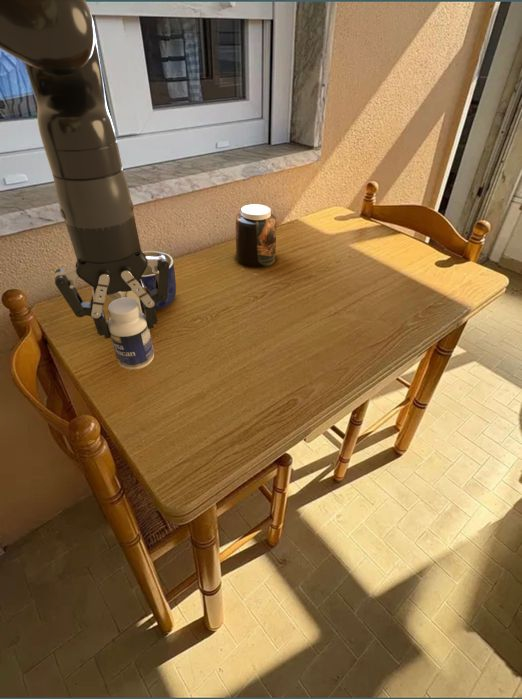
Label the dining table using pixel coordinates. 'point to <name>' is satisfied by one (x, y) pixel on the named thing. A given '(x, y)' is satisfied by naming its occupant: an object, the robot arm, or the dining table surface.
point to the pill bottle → (130, 334)
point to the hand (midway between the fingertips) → (129, 329)
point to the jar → (255, 236)
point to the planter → (149, 281)
